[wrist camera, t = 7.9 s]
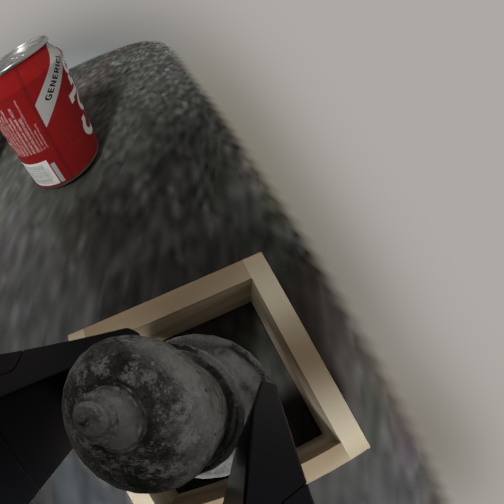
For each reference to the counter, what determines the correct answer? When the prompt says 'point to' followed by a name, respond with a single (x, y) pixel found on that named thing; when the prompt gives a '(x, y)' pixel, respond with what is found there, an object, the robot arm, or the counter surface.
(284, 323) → the birch holder
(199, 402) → the dark grey tall piece
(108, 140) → the counter surface
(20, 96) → the soda can
